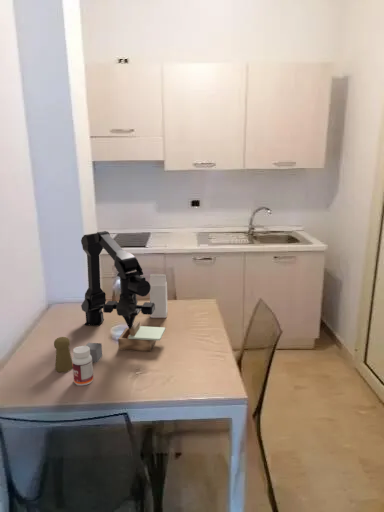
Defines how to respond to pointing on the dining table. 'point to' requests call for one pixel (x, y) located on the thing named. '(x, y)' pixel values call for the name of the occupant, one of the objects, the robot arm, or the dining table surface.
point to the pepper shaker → (63, 355)
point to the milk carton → (159, 295)
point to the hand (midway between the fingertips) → (130, 328)
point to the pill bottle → (82, 365)
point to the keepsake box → (134, 343)
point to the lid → (146, 332)
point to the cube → (95, 351)
